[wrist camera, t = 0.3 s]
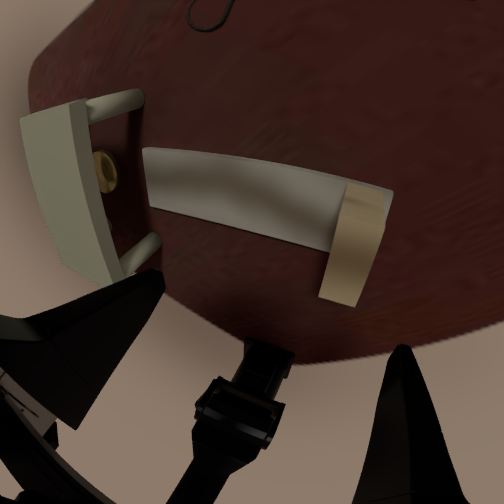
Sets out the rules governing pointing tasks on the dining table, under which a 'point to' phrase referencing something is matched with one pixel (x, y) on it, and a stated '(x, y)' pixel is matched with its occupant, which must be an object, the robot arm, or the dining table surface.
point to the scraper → (277, 207)
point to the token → (106, 170)
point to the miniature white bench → (79, 187)
